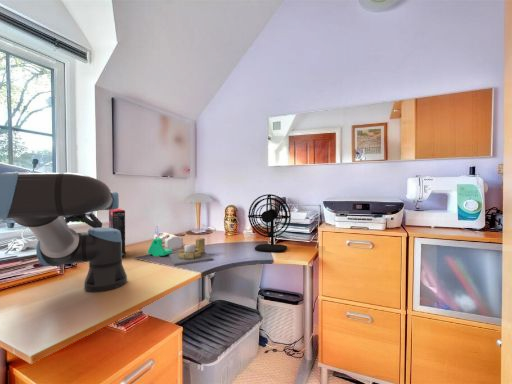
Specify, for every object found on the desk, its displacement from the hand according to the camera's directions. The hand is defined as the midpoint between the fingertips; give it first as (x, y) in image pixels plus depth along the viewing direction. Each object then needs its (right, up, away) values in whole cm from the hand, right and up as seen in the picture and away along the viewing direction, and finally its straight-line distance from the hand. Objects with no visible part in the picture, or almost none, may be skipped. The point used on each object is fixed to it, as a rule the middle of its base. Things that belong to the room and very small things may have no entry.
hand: (79, 238), depth 125 cm
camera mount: (+30, -15, +26) cm, 43 cm away
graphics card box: (+5, -15, +25) cm, 30 cm away
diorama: (+26, -14, +50) cm, 58 cm away
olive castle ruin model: (+51, -13, +20) cm, 56 cm away
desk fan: (+96, -14, +36) cm, 103 cm away
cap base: (+50, -14, +18) cm, 55 cm away
